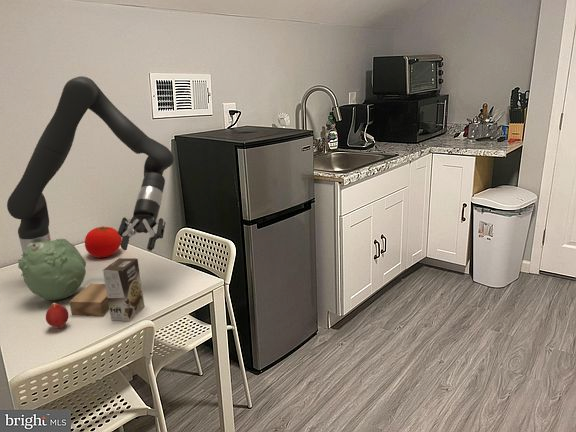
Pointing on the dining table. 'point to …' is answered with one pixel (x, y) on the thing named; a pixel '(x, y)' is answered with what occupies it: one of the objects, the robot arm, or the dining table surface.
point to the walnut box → (90, 301)
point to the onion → (57, 315)
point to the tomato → (102, 241)
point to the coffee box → (124, 289)
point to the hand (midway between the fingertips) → (136, 249)
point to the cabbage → (52, 269)
